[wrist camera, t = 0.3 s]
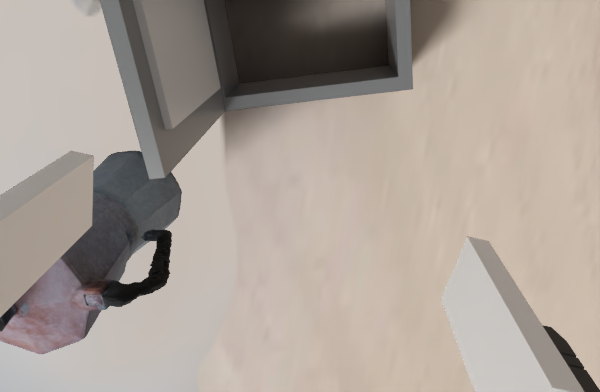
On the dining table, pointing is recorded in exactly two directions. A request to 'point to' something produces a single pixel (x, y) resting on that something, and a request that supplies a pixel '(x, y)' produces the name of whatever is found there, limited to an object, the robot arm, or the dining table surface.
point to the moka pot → (99, 258)
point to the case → (218, 72)
